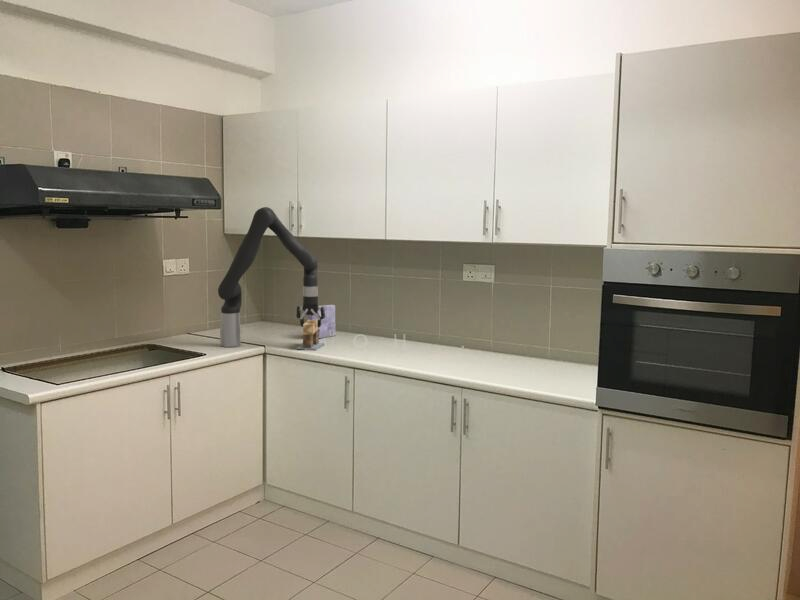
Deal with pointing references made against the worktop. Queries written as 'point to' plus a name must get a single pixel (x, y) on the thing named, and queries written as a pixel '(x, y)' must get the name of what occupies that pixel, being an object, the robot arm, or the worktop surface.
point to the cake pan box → (326, 321)
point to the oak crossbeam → (310, 327)
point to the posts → (311, 340)
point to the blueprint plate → (312, 347)
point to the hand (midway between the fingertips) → (310, 326)
